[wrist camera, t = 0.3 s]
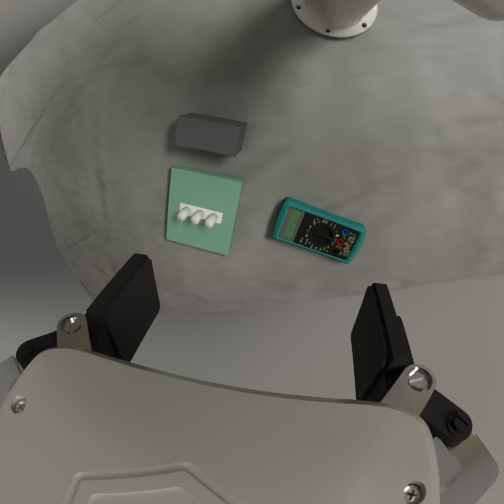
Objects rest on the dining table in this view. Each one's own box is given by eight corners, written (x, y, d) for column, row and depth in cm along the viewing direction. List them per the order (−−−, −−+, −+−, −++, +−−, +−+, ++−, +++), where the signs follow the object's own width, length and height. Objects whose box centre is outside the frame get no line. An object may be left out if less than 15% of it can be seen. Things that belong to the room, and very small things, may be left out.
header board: (175, 164, 46) (163, 172, 42) (244, 179, 46) (238, 189, 42) (169, 235, 53) (159, 247, 50) (229, 251, 53) (223, 265, 49)
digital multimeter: (349, 258, 50) (351, 267, 48) (271, 231, 50) (270, 239, 48) (367, 224, 46) (370, 232, 44) (285, 194, 46) (284, 200, 44)
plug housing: (190, 113, 41) (178, 116, 37) (246, 123, 41) (240, 126, 37) (186, 139, 43) (174, 144, 39) (241, 149, 43) (234, 156, 39)
